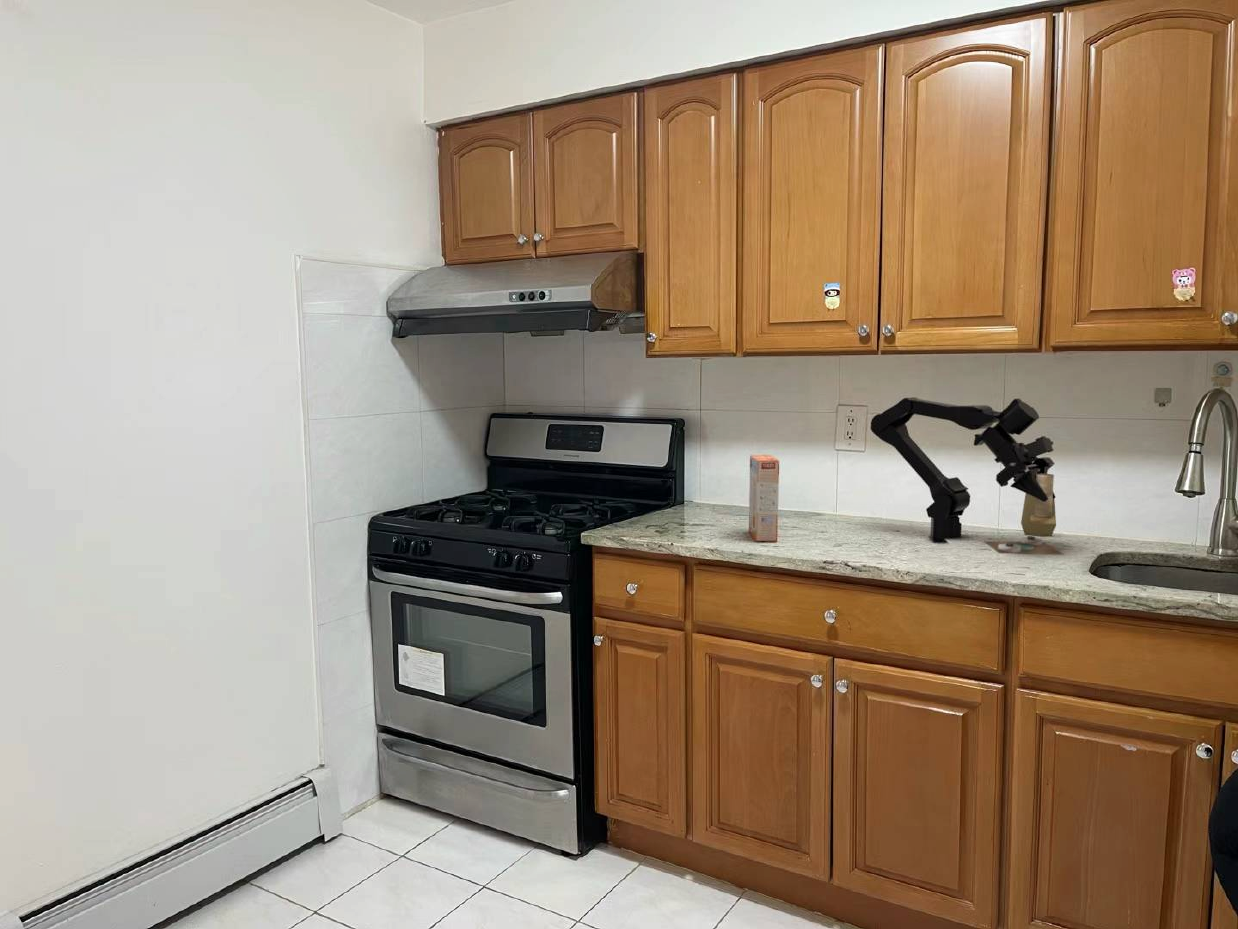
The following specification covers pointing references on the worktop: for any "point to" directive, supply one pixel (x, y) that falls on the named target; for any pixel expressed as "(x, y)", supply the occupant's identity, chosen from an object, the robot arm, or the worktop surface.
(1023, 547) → the gear board
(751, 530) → the cracker box
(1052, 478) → the gear spindle
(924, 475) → the robot arm
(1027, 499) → the squeeze bottle
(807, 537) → the worktop surface
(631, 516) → the worktop surface
